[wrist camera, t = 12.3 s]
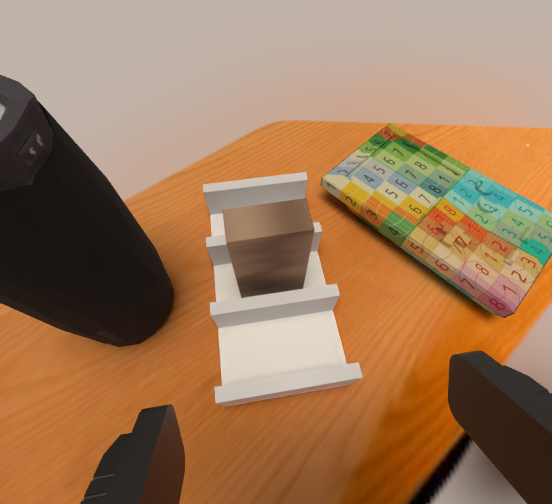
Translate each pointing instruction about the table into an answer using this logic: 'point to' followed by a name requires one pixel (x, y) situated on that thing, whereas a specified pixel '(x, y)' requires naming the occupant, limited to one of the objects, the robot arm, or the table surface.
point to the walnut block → (269, 246)
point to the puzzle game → (447, 217)
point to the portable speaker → (70, 234)
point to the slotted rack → (272, 311)
